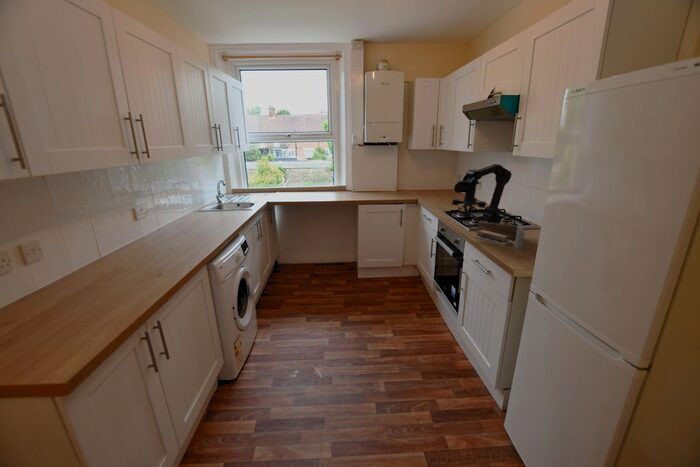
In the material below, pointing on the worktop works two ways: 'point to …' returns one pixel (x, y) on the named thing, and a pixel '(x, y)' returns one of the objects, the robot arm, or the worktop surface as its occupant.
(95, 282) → the worktop surface
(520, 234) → the brown piece
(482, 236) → the packaged product
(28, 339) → the worktop surface
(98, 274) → the worktop surface
